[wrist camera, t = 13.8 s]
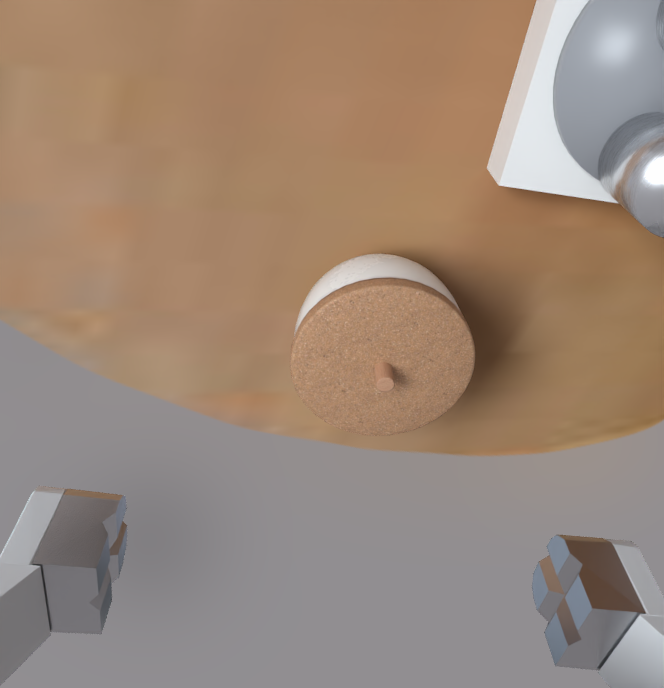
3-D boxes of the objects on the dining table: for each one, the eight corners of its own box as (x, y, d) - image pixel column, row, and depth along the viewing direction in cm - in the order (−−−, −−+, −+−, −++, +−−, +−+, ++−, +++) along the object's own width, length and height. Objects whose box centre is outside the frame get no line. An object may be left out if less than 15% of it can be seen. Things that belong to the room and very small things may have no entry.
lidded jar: (266, 266, 41) (254, 347, 33) (420, 200, 39) (445, 269, 31) (334, 384, 47) (337, 476, 39) (472, 332, 44) (505, 419, 36)
